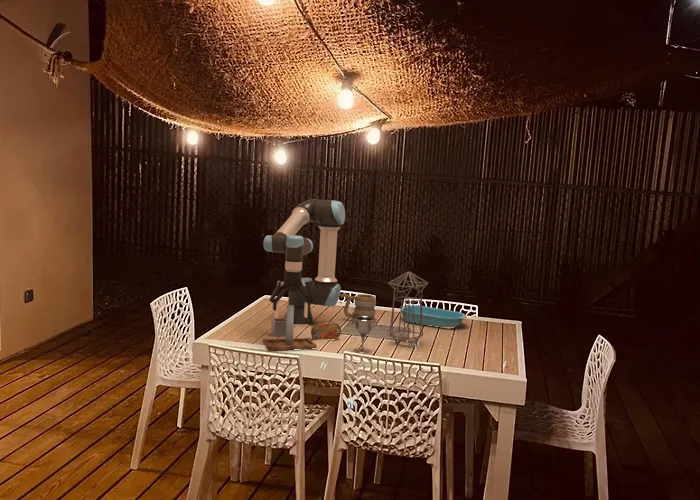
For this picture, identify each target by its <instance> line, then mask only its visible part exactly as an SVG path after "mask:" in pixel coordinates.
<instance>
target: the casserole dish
mask: <svg viewBox="0 0 700 500" xmlns="http://www.w3.org/2000/svg"><path fill="white" fill-rule="evenodd" d="M408 309H409V305H406V317H405V322H406V321H407V322H406V323H408ZM404 315H405V305H404V306H403V305H402V311H401V316H402V317H403V319H404ZM466 318H467V316H466V315H465V313H463V312H460V311H454V310H447V309H445V308H437V307H432V306H431V307H430V306H426V305H425V306H424V305H422V319H423V326H424V325H432V326H440V327H456V326H458V325H459V324H460V325H461V324H462V322H463V320H465V319H466ZM409 322H410V323H409V324H413V306H412V304H411V305H410V314H409ZM414 323H416V324H415V325H418V324H420V305H414ZM421 324H422V322H421ZM460 325H459V326H460ZM459 326H458V327H459ZM456 328H457V327H456Z"/></svg>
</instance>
